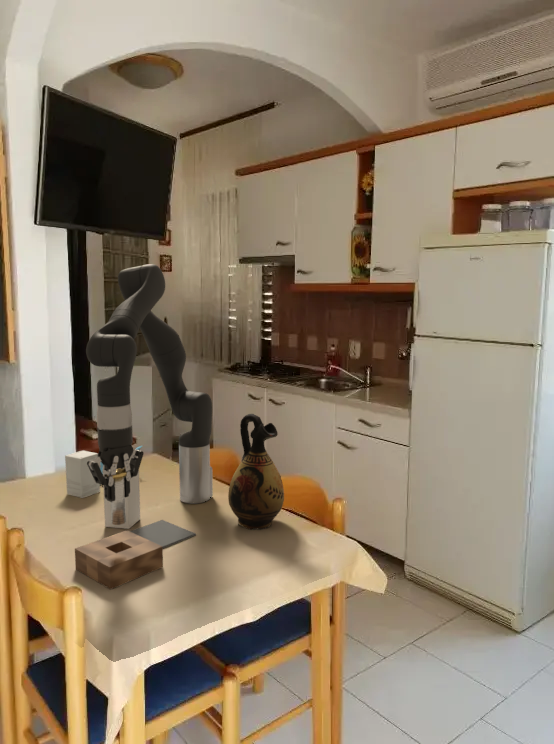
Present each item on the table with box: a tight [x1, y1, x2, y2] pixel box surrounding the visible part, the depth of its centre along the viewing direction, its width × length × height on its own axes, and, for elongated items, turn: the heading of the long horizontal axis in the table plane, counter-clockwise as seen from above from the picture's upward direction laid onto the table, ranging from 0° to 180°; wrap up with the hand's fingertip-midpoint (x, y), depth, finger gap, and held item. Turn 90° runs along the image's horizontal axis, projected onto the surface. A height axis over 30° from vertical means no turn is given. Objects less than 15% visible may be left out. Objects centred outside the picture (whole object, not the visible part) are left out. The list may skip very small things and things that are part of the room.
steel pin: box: [107, 469, 127, 525], centre depth 135 cm, size 4×4×12 cm
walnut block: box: [74, 529, 164, 590], centre depth 137 cm, size 14×14×5 cm
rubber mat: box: [129, 519, 197, 549], centre depth 155 cm, size 14×14×1 cm
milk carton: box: [103, 457, 141, 530], centre depth 163 cm, size 7×7×19 cm
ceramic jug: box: [227, 413, 285, 531], centre depth 163 cm, size 17×15×30 cm
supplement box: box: [64, 450, 101, 499], centre depth 187 cm, size 7×7×13 cm
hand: (117, 498), depth 135 cm, fingers closed on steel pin, 3 cm apart
